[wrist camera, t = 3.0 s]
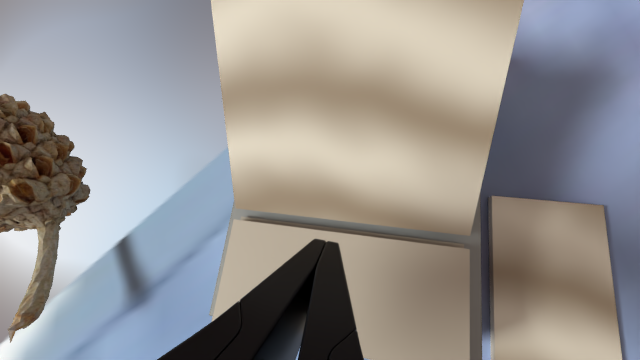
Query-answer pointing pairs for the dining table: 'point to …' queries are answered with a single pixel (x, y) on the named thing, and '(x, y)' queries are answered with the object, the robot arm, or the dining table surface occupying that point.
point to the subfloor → (372, 280)
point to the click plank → (363, 106)
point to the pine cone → (36, 192)
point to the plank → (550, 282)
